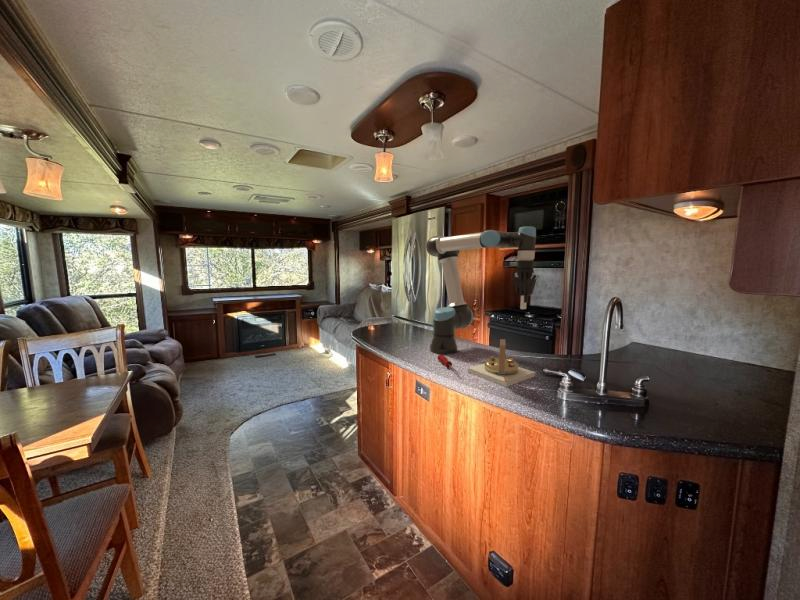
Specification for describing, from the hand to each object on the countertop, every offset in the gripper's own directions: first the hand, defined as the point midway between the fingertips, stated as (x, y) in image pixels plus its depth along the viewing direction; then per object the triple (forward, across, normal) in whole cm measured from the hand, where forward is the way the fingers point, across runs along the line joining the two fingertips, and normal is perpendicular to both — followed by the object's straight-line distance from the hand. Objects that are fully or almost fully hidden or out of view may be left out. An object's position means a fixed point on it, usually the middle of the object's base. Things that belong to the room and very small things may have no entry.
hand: (523, 308), depth 153 cm
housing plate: (+26, -6, +23) cm, 36 cm away
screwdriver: (+27, +12, +36) cm, 47 cm away
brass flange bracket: (+24, -8, +26) cm, 37 cm away
